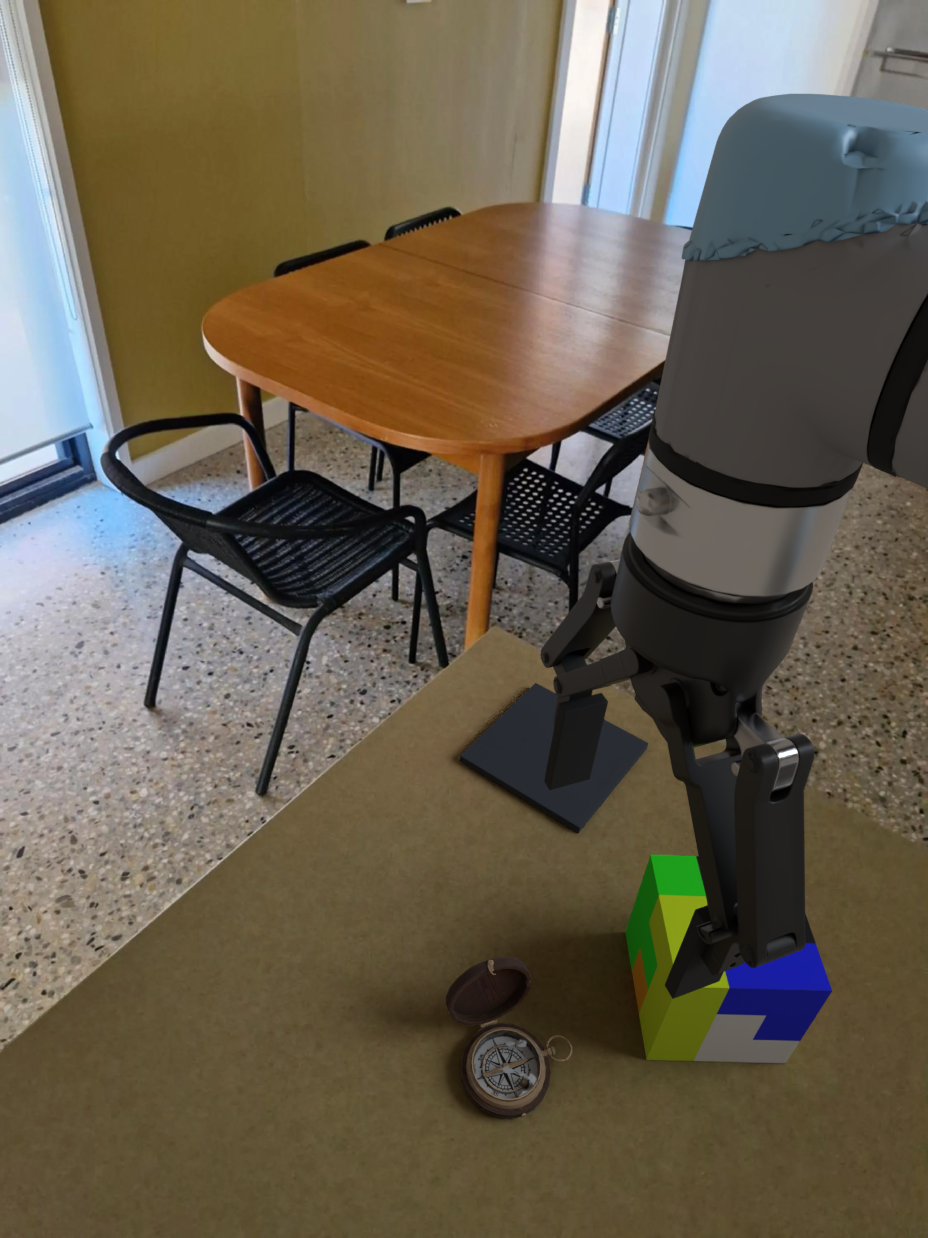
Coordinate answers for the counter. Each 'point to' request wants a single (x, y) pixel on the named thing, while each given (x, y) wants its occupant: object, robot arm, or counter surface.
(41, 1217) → the counter surface
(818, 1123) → the counter surface
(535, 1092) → the compass
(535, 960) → the counter surface
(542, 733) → the mat
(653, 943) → the puzzle toy
